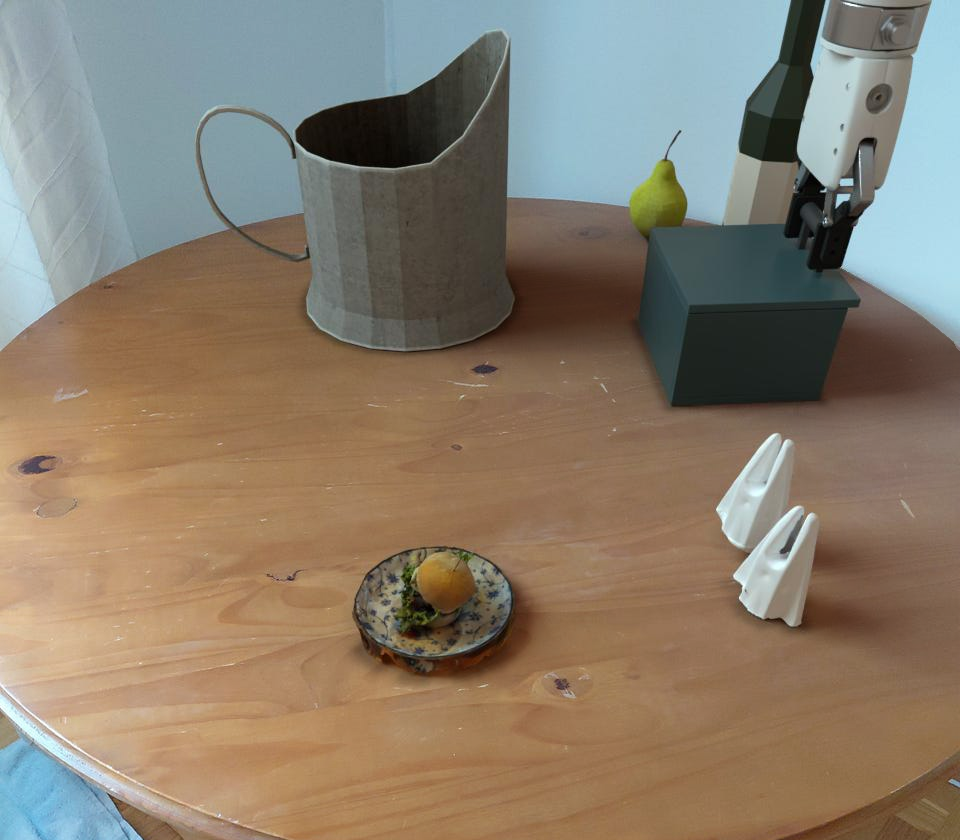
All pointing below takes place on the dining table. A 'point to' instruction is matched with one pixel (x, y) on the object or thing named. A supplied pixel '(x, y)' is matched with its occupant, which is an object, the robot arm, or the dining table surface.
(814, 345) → the chest
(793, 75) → the wine bottle
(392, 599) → the burger
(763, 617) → the shaker set
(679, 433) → the dining table surface
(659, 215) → the fruit
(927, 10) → the robot arm
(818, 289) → the lid
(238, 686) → the dining table surface
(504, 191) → the pitcher
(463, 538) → the dining table surface
